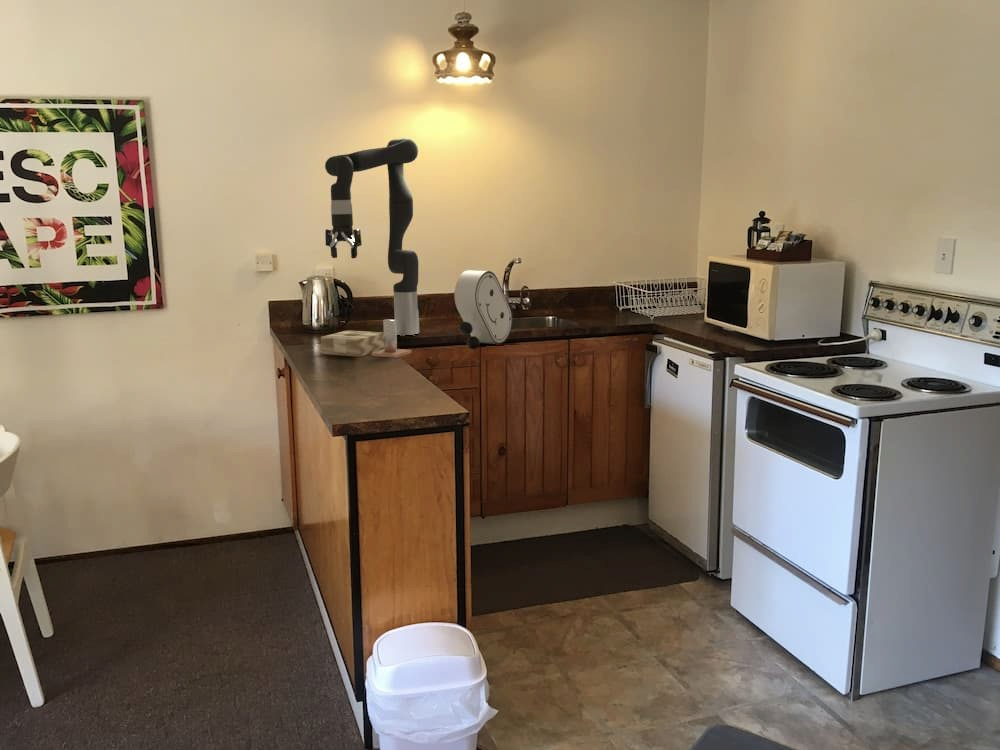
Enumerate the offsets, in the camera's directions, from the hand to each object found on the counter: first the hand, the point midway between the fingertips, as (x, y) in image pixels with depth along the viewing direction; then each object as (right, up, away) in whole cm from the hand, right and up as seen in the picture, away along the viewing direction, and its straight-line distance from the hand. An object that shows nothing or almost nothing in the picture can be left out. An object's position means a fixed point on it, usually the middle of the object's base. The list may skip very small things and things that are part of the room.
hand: (344, 258), depth 316 cm
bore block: (+5, -34, -7) cm, 35 cm away
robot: (+51, -32, 0) cm, 60 cm away
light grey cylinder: (+19, -34, -14) cm, 42 cm away
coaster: (+19, -35, -14) cm, 43 cm away
